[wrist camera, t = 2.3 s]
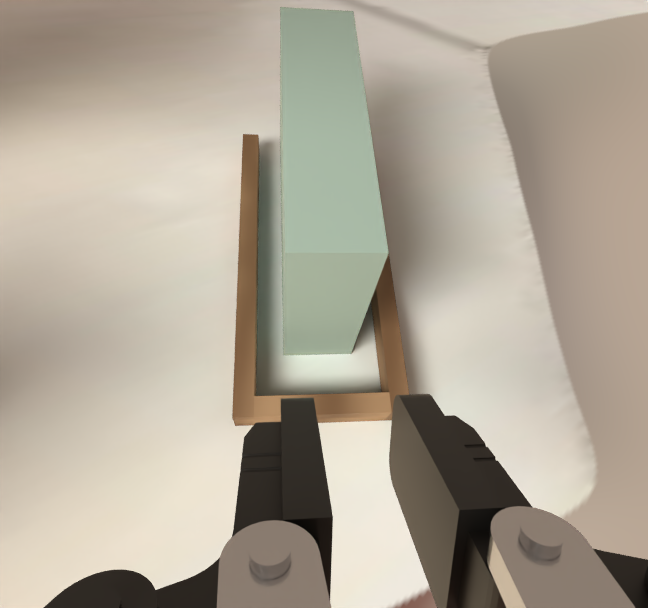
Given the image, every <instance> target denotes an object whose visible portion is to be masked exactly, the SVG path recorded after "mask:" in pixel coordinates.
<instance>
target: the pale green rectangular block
mask: <svg viewBox="0 0 648 608" xmlns="http://www.w3.org/2000/svg"><path fill="white" fill-rule="evenodd" d="M280 164H281V229H282V295H283V355H319V354H351V353H352V350H353V347H354V344H355V342H356V339H357V336H358V334H359V331H360V328H361V326H362V323H363V320H364V318H365V315H366V312H367V310H368V307H369V304H370V302H371V299H372V296H373V293H374V291H375V288H376V285H377V283H378V280H379V277H380V275H381V272H382V269H383V267H384V264H385V261H386V259H387V256H388V253H389V252H388V246H387V239H386V232H385V225H384V218H383V211H382V204H381V198H380V191H379V184H378V177H377V170H376V163H375V156H374V150H373V143H372V136H371V129H370V122H369V115H368V108H367V102H366V95H365V88H364V81H363V74H362V67H361V60H360V54H359V47H358V40H357V33H356V26H355V19H354V12H353V11H339V10H321V9H304V8H286V7H280Z"/></svg>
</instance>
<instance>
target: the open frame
mask: <svg viewBox="0 0 648 608" xmlns="http://www.w3.org/2000/svg"><path fill="white" fill-rule="evenodd" d="M372 143H373V142H372ZM373 150H374V149H373ZM379 191H380V190H379ZM380 198H381V197H380ZM258 214H259V138H258V135H249V134H243V150H242V177H241V204H240V230H239V257H238V283H237V310H236V337H235V363H234V390H233V417H232V418H233V420H234V423H235V426H241V425H254V424H255V423H258V422H281V398H314V402H315V409H316V415H317V421H318V423H324V422H352V421H379V420H392V413H393V403H394V398H395V396H396V395H409V390H408V383H407V376H406V369H405V362H404V355H403V348H402V342H401V335H400V328H399V321H398V314H397V307H396V300H395V293H394V287H393V280H392V273H391V266H390V259H389V253H388V256H387V259H386V261H385V264H384V267H383V269H382V272H381V275H380V277H379V280H378V283H377V285H376V288H375V291H374V293H373V296H372V299H371V307H372V315H373V324H374V332H375V341H376V349H377V358H378V367H379V375H380V384H381V392H379V393H345V394H312V395H278V396H256V357H257V286H258ZM386 239H387V238H386ZM387 246H388V245H387Z"/></svg>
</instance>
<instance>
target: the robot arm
mask: <svg viewBox="0 0 648 608" xmlns="http://www.w3.org/2000/svg"><path fill="white" fill-rule="evenodd" d="M389 464H390V474H391V480H392V484H393V487H394V490H395V492H396V495H397V498H398V501H399V503H400V506H401V509H402V512H403V514H404V517H405V520H406V523H407V526H408V528H409V531H410V534H411V537H412V539H413V542H414V545H415V548H416V550H417V553H418V556H419V559H420V562H421V564H422V567H423V570H424V573H425V575H426V578H427V581H428V584H429V587H430V589H431V592H432V595H433V598H434V600H435V603H436V606H437V608H648V560H645V559H641V558H636V557H630V556H625V555H620V554H615V553H610V552H604V551H600V550H596V549H593V548H592V547H591V546H590V544H589V543H588V541H587V540H586V539H585V538H584V537H583V535H582V534H581V533H580V532H579V531H578V530H576V528H575V527H573V526H572V525H571V524H569V523H568V522H566V521H565V520H563V519H562V518H560V517H558V516H556V515H554V514H552V513H549V512H547V511H544V510H541V509H537V508H533V507H532V506H531V505H530V503H529V502H528V501H527V499H526V498H525V497H524V495H523V494H522V493H521V491H520V490H519V489H518V487H517V486H516V485H515V483H514V482H513V481H512V479H511V478H510V476H509V475H508V474H507V472H506V471H505V470H504V468H503V467H502V466H501V464H500V463H499V462H498V461H496V460H495V456H494V455H493V454H492V452H491V451H490V450H489V448H488V447H486V446H485V443H484V441H483V440H482V439H481V437H480V436H479V435H478V433H477V432H476V431H475V429H474V428H472V427H471V426H470V425H468V424H467V423H465V422H464V421H462V420H461V419H459V418H458V417H456V416H444V414H443V413H442V411H441V410H440V408H439V407H438V405H437V404H436V402H435V401H434V399H433V398H432V396H431V395H430V394H415V395H396V396H395V398H394V403H393V413H392V427H391V440H390V454H389ZM332 523H333V516H332V510H331V503H330V497H329V491H328V484H327V478H326V472H325V465H324V459H323V453H322V447H321V440H320V434H319V428H318V421H317V415H316V409H315V402H314V398H281V422H258V423H255V424H254V426H253V427H252V428H251V430H250V431H249V432H248V433H247V435H246V436H245V437H244V444H243V453H242V462H241V473H240V479H239V487H238V496H237V505H236V513H235V522H234V530H233V535H232V538H231V539H230V540H229V541H228V542H227V544H226V545H225V547H224V549H223V551H222V553H221V556H220V558H219V559H218V560H217V561H216V562H215V563H214V564H213V565H211V566H210V567H208V568H207V569H206V570H204V571H202V572H201V573H199V574H197V575H195V576H193V577H191V578H188V579H186V580H183V581H180V582H177V583H175V584H172V585H169V586H166V587H163V588H161V589H158V590H155V588H154V586H153V585H152V583H151V582H150V581H149V580H148V579H147V578H146V577H144V576H143V575H141V574H139V573H137V572H134V571H129V570H110V571H104V572H100V573H96V574H93V575H91V576H88V577H86V578H84V579H82V580H80V581H78V582H76V583H74V584H73V585H71V586H70V587H68V588H66V589H65V590H64V591H62V592H61V593H60V594H59V595H57V596H56V597H55V598H54V599H53V600H52V601H51V602H50V603H48V604H47V605H46V606H45V607H44V608H331V604H330V584H331V553H332Z"/></svg>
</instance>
